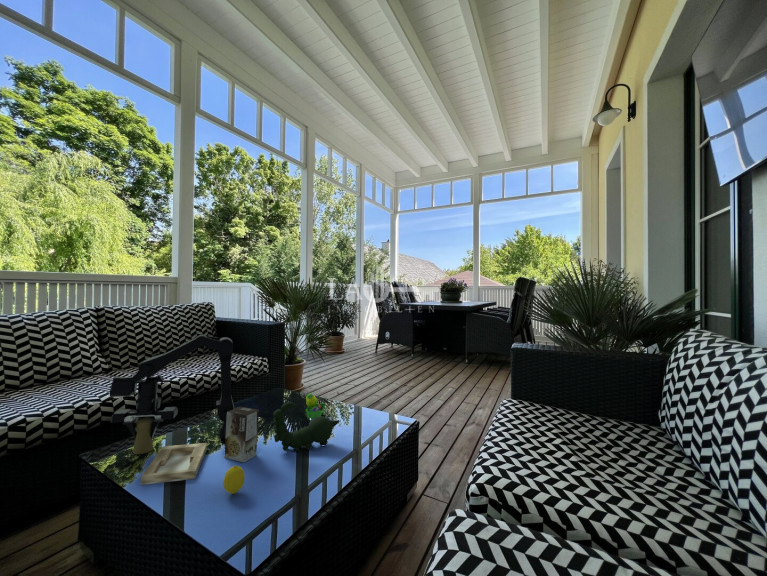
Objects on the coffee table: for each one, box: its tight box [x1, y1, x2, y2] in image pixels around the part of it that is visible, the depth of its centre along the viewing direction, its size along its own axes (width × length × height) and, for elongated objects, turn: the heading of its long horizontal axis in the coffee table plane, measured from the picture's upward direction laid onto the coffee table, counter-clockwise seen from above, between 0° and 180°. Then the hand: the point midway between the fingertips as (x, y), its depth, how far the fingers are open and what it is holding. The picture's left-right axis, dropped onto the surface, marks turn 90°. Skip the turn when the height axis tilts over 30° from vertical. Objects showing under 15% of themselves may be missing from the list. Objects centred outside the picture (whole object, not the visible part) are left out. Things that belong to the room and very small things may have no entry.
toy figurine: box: [272, 401, 340, 452], centre depth 125 cm, size 9×19×25 cm
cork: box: [131, 417, 154, 455], centre depth 116 cm, size 6×6×11 cm
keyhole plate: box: [140, 442, 208, 486], centre depth 107 cm, size 14×20×2 cm
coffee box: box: [224, 406, 260, 463], centre depth 116 cm, size 9×6×16 cm
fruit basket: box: [305, 393, 327, 419], centre depth 157 cm, size 11×9×11 cm
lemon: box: [223, 465, 246, 495], centre depth 94 cm, size 6×6×8 cm
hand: (143, 438), depth 116 cm, fingers closed on cork, 4 cm apart
